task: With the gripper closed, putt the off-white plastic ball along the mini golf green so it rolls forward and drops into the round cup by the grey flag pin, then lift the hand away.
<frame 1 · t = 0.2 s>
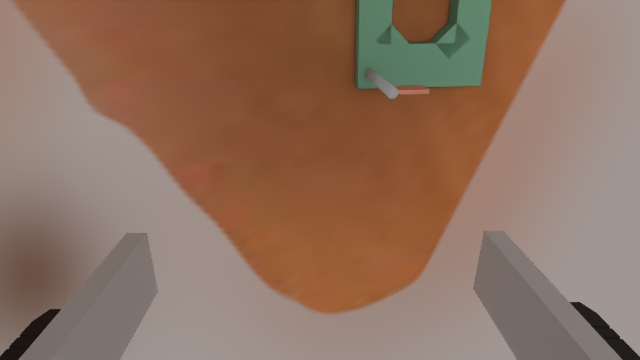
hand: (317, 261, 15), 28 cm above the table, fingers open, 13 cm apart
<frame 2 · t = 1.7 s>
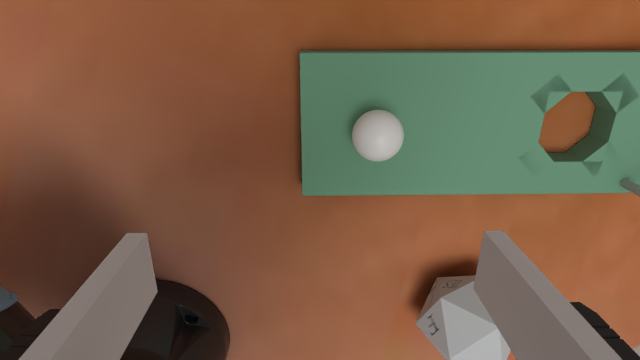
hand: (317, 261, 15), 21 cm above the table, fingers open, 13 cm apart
ball: (377, 135, 30), point 4 cm above the table, touching mini golf green
mini golf green: (470, 121, 35), on the table
die: (452, 292, 42), on the table
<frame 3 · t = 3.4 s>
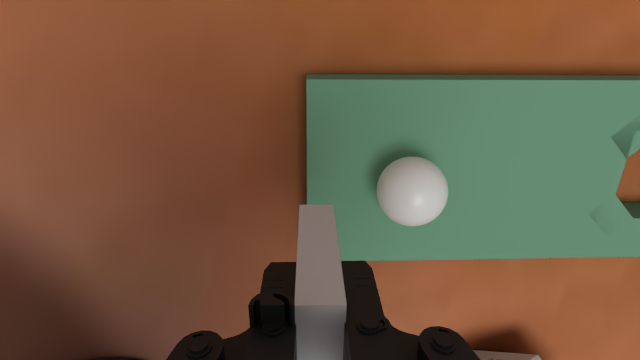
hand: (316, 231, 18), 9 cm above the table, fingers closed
ball: (411, 191, 22), point 4 cm above the table, touching mini golf green
mini golf green: (523, 164, 27), on the table
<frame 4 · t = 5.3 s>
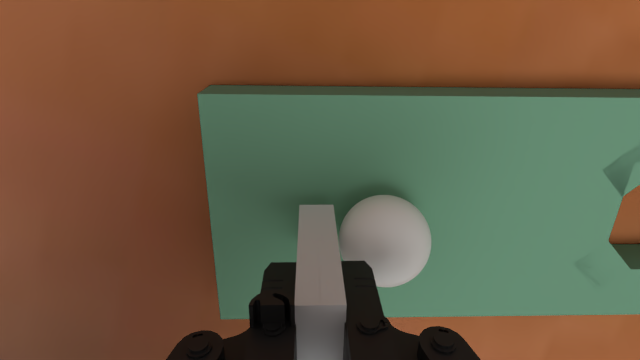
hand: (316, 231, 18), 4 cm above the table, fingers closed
ball: (384, 240, 17), point 4 cm above the table, tilted 56°, touching mini golf green
mini golf green: (494, 198, 22), on the table
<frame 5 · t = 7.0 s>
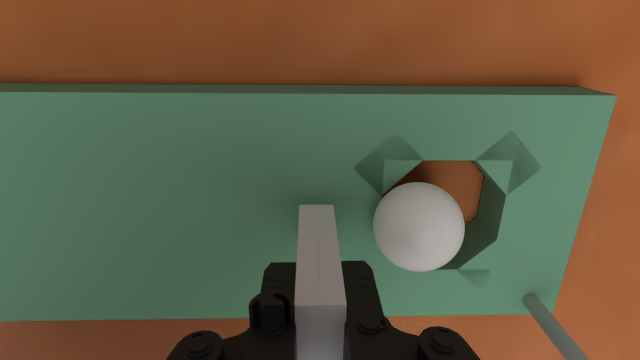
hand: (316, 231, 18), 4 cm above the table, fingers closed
ball: (417, 226, 18), point 4 cm above the table, tilted 84°
mini golf green: (280, 197, 21), on the table
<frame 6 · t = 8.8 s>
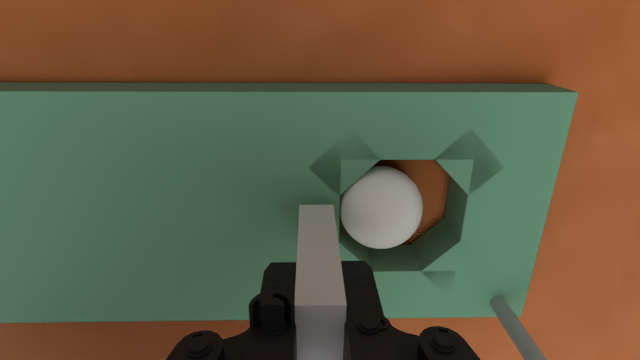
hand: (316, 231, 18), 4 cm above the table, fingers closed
ball: (380, 207, 19), point 2 cm above the table, tilted 123°
mini golf green: (242, 197, 21), on the table
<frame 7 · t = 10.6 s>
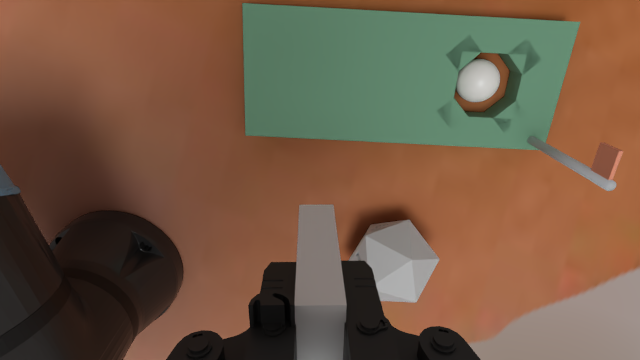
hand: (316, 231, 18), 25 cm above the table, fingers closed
ball: (477, 80, 37), point 2 cm above the table, tilted 125°
mini golf green: (398, 78, 39), on the table
die: (386, 240, 47), on the table
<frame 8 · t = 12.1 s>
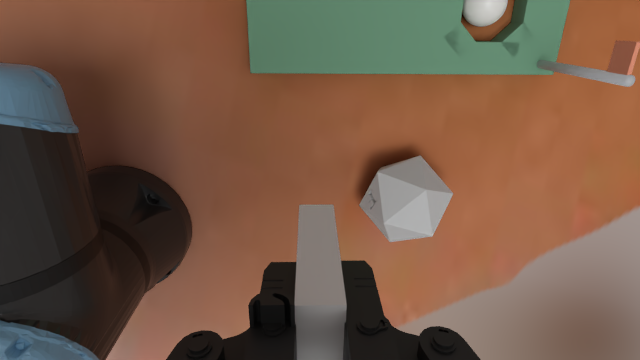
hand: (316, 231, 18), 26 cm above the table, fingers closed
ball: (484, 3, 37), point 2 cm above the table, tilted 128°
mini golf green: (403, 8, 38), on the table
die: (396, 184, 46), on the table
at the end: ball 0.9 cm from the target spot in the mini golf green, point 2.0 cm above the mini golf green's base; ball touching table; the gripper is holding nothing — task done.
